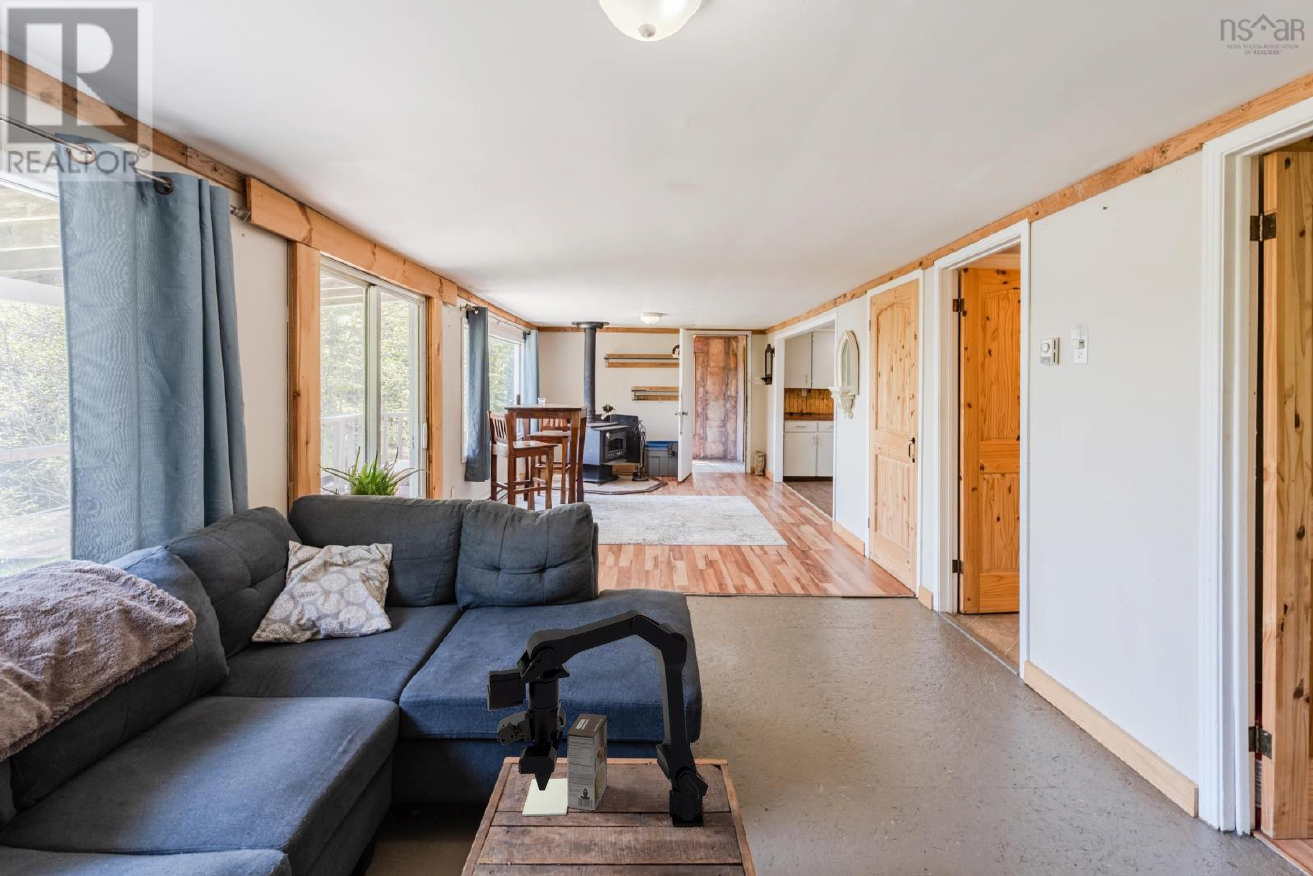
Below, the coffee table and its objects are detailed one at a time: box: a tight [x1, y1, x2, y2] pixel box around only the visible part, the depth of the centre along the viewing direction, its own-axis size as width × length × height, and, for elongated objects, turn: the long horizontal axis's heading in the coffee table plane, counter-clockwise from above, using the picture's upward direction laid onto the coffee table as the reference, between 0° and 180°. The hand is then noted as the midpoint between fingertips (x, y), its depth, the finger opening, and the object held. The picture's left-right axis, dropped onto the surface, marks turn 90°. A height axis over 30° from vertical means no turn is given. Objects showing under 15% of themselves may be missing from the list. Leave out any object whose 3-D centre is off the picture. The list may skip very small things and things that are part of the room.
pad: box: [521, 778, 568, 817], centre depth 127 cm, size 9×12×1 cm
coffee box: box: [566, 713, 608, 811], centre depth 127 cm, size 9×6×16 cm
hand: (544, 783), depth 111 cm, fingers open, 4 cm apart
